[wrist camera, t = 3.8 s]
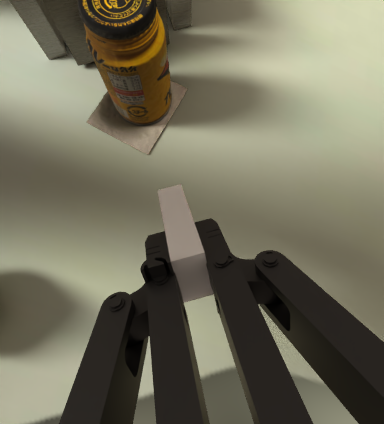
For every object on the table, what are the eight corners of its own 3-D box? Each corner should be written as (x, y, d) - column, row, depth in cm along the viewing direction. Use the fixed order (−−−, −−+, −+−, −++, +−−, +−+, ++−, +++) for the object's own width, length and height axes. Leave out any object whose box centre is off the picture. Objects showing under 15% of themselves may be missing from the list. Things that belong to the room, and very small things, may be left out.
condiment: (188, 89, 31) (186, -21, 19) (148, 155, 30) (120, 79, 18) (129, 61, 32) (93, -63, 20) (87, 123, 30) (21, 30, 18)
